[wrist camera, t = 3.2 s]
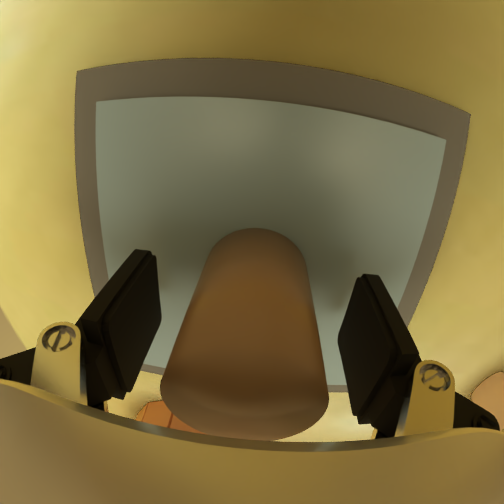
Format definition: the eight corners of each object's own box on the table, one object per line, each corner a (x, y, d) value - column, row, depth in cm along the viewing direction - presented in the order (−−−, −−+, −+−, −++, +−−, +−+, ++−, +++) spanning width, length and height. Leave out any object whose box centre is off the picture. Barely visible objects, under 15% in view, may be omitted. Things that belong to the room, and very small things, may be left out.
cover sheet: (104, 101, 9) (-33, 120, 3) (438, 137, 9) (566, 185, 3) (130, 352, 15) (88, 448, 9) (358, 376, 15) (379, 479, 9)
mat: (83, 71, 9) (77, 70, 9) (464, 113, 9) (470, 113, 8) (116, 358, 16) (113, 364, 16) (370, 385, 16) (372, 391, 16)
